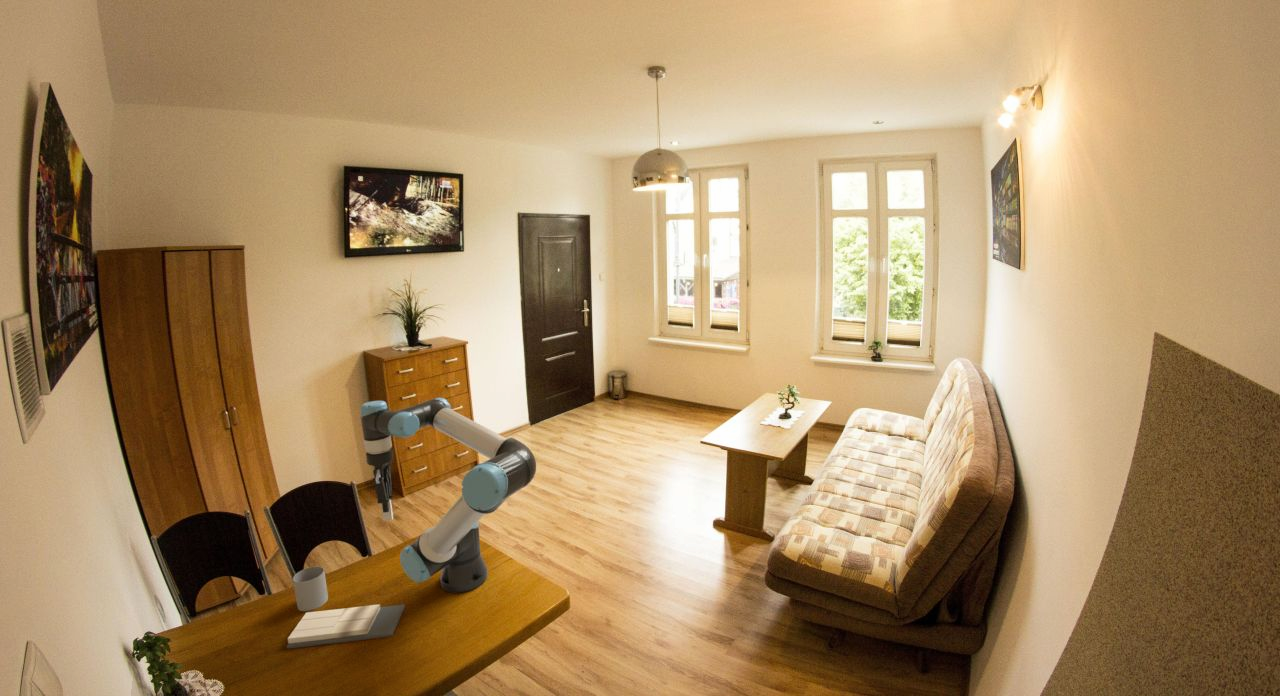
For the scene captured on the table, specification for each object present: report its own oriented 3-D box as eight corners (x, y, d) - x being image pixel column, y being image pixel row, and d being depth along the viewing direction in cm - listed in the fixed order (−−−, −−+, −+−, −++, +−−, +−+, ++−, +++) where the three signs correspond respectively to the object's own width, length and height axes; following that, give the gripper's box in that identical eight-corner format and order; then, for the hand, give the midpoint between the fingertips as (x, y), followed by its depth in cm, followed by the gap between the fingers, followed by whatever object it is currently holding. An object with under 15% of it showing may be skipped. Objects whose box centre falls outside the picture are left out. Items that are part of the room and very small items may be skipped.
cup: (313, 612, 162) (309, 583, 160) (290, 609, 163) (286, 580, 162) (334, 595, 170) (330, 567, 168) (312, 592, 171) (308, 565, 170)
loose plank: (380, 608, 161) (379, 603, 161) (367, 633, 151) (366, 628, 150) (345, 612, 160) (345, 608, 160) (330, 638, 149) (329, 633, 149)
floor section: (405, 606, 164) (404, 599, 163) (392, 636, 151) (391, 628, 150) (308, 617, 160) (307, 610, 159) (287, 648, 147) (285, 640, 146)
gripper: (371, 444, 170) (380, 512, 174) (360, 458, 157) (370, 531, 161) (396, 441, 171) (404, 508, 175) (387, 455, 159) (396, 527, 163)
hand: (388, 519), depth 168 cm, fingers closed
